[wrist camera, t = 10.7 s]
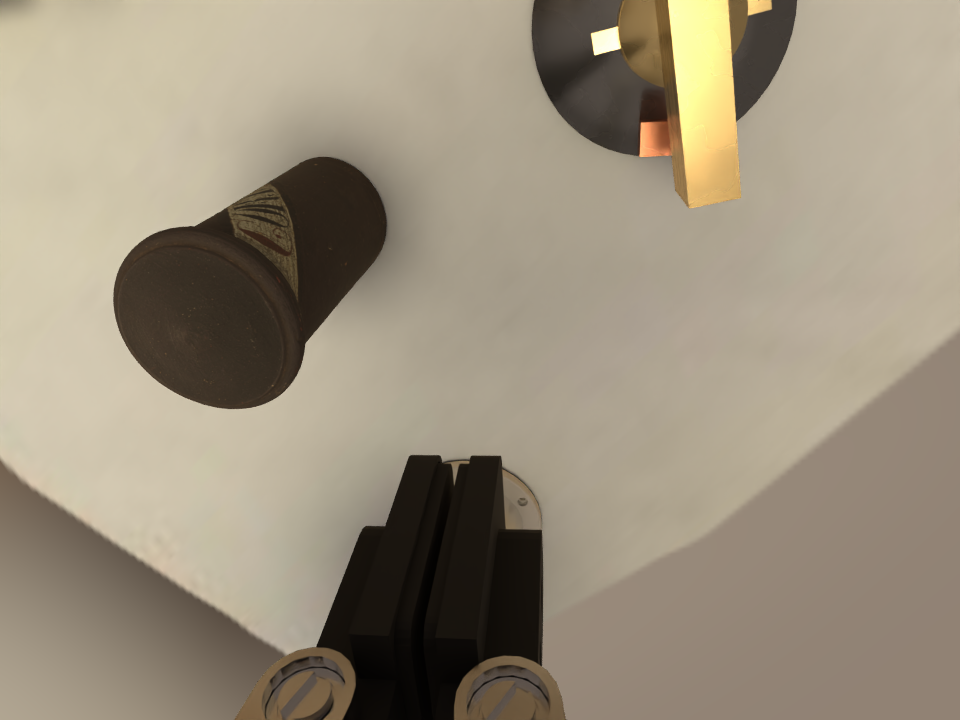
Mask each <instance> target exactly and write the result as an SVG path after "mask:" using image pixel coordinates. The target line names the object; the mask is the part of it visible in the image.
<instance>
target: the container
mask: <svg viewBox="0 0 960 720" xmlns="http://www.w3.org/2000/svg"><path fill="white" fill-rule="evenodd" d="M385 236H386V217H385V212H384V208H383V205H382V202H381V199H380V197H379V195H378V193H377V191H376V190H375V188H374V187H373V185H372V184H371V183H370V181H369V180H368V179H367V178H366V177H365V176H364V175H363V174H362V173H361V172H359V171H358V170H357V169H356V168H354V167H353V166H351V165H349V164H347V163H345V162H343V161H340V160H338V159H334V158H329V157H318V158H312V159H309V160H306V161H304V162H301V163H299V165H297V166H295V167H293V168H292V169H290V170H288V171H287V172H285V173H283V174H282V175H280V176H278V177H277V178H275V179H274V180H272V181H270V182H269V183H267V184H265V185H264V186H262V187H260V188H259V189H257V190H255V191H254V192H252V193H250V194H249V195H247V196H245V197H244V198H242V199H240V200H239V201H237V202H235V203H233V204H232V205H230V206H229V207H227V208H225V209H224V210H222V211H221V212H219V213H217V214H215V215H214V216H212V217H211V218H209V219H207V220H205V221H203V222H202V223H200V224H198V225H196V226H195V227H193V226H189V227H177V228H170V229H167V230H163V231H160V232H157V233H155V234H153V235H151V236H149V237H147V238H146V239H144V240H143V241H141V242H140V243H139V244H138V245H137V246H135V247H134V249H132V250H131V252H130V253H129V254H128V255H127V257H126V258H125V259H124V261H123V263H122V265H121V267H120V269H119V271H118V273H117V277H116V281H115V286H114V297H113V302H114V312H115V317H116V321H117V325H118V328H119V331H120V333H121V336H122V338H123V340H124V342H125V344H126V346H127V347H128V349H129V351H130V352H131V354H132V355H133V356H134V358H135V359H136V360H137V361H138V363H139V364H140V365H141V366H142V367H143V368H144V369H145V370H146V371H147V372H148V373H149V374H150V375H151V376H152V377H153V378H154V379H156V380H157V381H158V382H159V383H161V384H162V385H164V386H165V387H167V388H168V389H170V390H172V391H173V392H175V393H177V394H179V395H181V396H183V397H185V398H187V399H190V400H192V401H195V402H198V403H201V404H204V405H208V406H212V407H217V408H225V409H244V408H252V407H256V406H259V405H262V404H265V403H267V402H270V401H272V400H273V399H275V398H277V397H278V396H279V395H281V394H282V393H283V392H284V391H285V390H286V389H287V388H288V387H289V386H290V385H291V383H292V382H293V381H294V379H295V377H296V376H297V374H298V371H299V369H300V367H301V364H302V361H303V356H304V350H305V343H306V342H307V341H308V340H309V338H310V337H311V336H312V335H313V333H314V332H315V331H316V330H317V329H318V328H319V326H320V325H321V324H322V323H323V322H324V321H325V319H326V318H327V317H328V316H329V314H330V313H331V312H332V311H333V309H334V308H335V307H336V306H337V305H338V303H339V302H340V301H341V300H342V299H343V297H344V296H345V295H346V294H347V293H348V292H349V290H350V289H351V288H352V287H353V286H354V285H355V283H356V282H357V281H358V280H359V279H360V278H361V276H362V275H363V274H364V273H365V272H366V271H367V269H368V268H369V267H370V266H371V265H372V263H373V262H374V261H375V259H376V258H377V256H378V255H379V253H380V251H381V249H382V247H383V244H384V241H385Z"/></svg>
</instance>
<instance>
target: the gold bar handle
mask: <svg viewBox="0 0 960 720" xmlns="http://www.w3.org/2000/svg"><path fill="white" fill-rule="evenodd" d="M771 9H772V2H771V0H622V1H621V3H620V7H619V10H618V15H617V23H616V27H614V28H610V29H606V30H602V31H598V32H595V33H591V34H590V35H591V42H592V48H593V54H594V55H596V54H600V53H604V52H608V51H612V50H616V49H620V52H621V54H622V56H623V58H624V60H625V62H626V63H627V65H628V66H629V67H630V68H631V70H632V71H633V72H634V73H636V74H637V75H638V76H639V77H641V78H643V79H644V80H646V81H648V82H650V83H652V84H654V85H657V86H660V87H664V91H665V100H666V109H667V119H668V128H669V137H670V146H671V155H672V165H673V174H674V183H675V191H676V192H677V193H678V195H679V196H680V197H681V199H682V200H683V201H684V202H685V204H686V205H687V206H688V208H694V207H699V206H704V205H709V204H713V203H718V202H723V201H728V200H733V199H738V198H741V190H740V175H739V160H738V145H737V130H736V114H735V99H734V84H733V69H732V56H733V55H734V53H735V52H736V50H737V49H738V47H739V45H740V43H741V40H742V38H743V35H744V32H745V28H746V24H747V18H748V15H752V14H756V13H760V12H764V11H767V10H771Z"/></svg>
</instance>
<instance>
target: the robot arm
mask: <svg viewBox="0 0 960 720" xmlns="http://www.w3.org/2000/svg"><path fill="white" fill-rule="evenodd" d="M541 528H542V525H541V513H540V509H539V505H538V503H537V501H536V499H535V497H534V496H533V494H532V493H531V491H530V490H529V489H528V488H527V487H526V485H525V484H523V483H522V482H521V481H520V480H519V479H517V478H516V477H515V476H513V475H512V474H510V473H508V472H506V471H505V470H503V469H502V459H501V456H471V457H470V461H455V462H447V463H442V459H441V456H440V455H411V456H409V458H408V461H407V464H406V467H405V470H404V473H403V476H402V479H401V482H400V484H399V487H398V490H397V493H396V496H395V499H394V502H393V505H392V508H391V511H390V514H389V517H388V520H387V523H386V526H365V527H364V528H363V529H362V531H361V533H360V535H359V538H358V540H357V543H356V545H355V548H354V551H353V553H352V556H351V558H350V561H349V564H348V566H347V569H346V571H345V574H344V577H343V579H342V582H341V584H340V587H339V589H338V592H337V595H336V597H335V600H334V602H333V605H332V608H331V610H330V613H329V615H328V618H327V621H326V623H325V626H324V628H323V631H322V634H321V636H320V639H319V641H318V644H317V646H316V647H311V648H307V649H302V650H298V651H295V652H293V653H291V654H289V655H287V656H285V657H283V658H281V659H280V660H279V661H278V662H276V663H275V664H273V665H272V666H271V667H270V668H269V669H268V670H267V671H266V672H265V673H264V675H263V676H262V677H261V679H260V680H259V681H258V682H257V684H256V685H255V687H254V689H253V690H252V692H251V693H250V695H249V697H248V698H247V700H246V702H245V703H244V705H243V706H242V708H241V710H240V711H239V713H238V714H237V716H236V718H235V719H234V720H566V719H565V713H564V708H563V701H562V696H561V694H560V691H559V688H558V685H557V683H556V681H555V680H554V679H553V678H552V676H551V675H550V674H549V672H548V671H547V670H546V669H544V668H543V667H542V637H543V547H542V530H541Z"/></svg>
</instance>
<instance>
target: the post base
mask: <svg viewBox="0 0 960 720" xmlns="http://www.w3.org/2000/svg"><path fill="white" fill-rule="evenodd" d="M621 1H622V0H535V1H534V7H533V15H532V39H533V51H534V56H535V61H536V65H537V69H538V72H539V75H540V78H541V81H542V84H543V86H544V88H545V90H546V92H547V94H548V96H549V98H550V100H551V101H552V103H553V104H554V106H555V107H556V109H557V110H558V112H559V113H560V114H561V115H562V117H563V118H564V119H565V120H566V121H567V122H568V123H569V124H570V125H571V126H572V127H573V128H574V129H575V130H577V131H578V132H579V133H580V134H581V135H583V136H584V137H586V138H588V139H589V140H591V141H592V142H594V143H596V144H598V145H600V146H602V147H605V148H607V149H610V150H613V151H616V152H620V153H623V154H630V155H636V156H640V157H646V156H668V155H671V146H670V137H669V128H668V119H667V109H666V100H665V91H664V87H660V86H657V85H654V84H652V83H650V82H648V81H646V80H644V79H643V78H641V77H639V76H638V75H637V74H636V73H634V72H633V71H632V70H631V68H630V67H629V66H628V65H627V63H626V62H625V60H624V58H623V56H622V54H621V52H620V49H616V50H612V51H608V52H604V53H600V54H596V55H594V54H593V48H592V42H591V35H590V34H591V33H595V32H598V31H602V30H606V29H610V28H614V27H616V23H617V15H618V10H619V7H620V3H621ZM771 2H772V9H771V10H767V11H764V12H760V13H756V14H752V15H748V18H747V24H746V28H745V32H744V35H743V38H742V40H741V43H740V45H739V47H738V49H737V50H736V52H735V53H734V55H733V56H732V69H733V84H734V99H735V114H736V122H737V121H738V120H739V119H740V118H741V117H742V116H744V115H745V114H746V113H747V111H748V110H749V109H750V108H751V107H752V106H753V105H754V104H755V103H756V102H757V101H758V99H759V98H760V97H761V95H762V94H763V93H764V91H765V90H766V89H767V87H768V86H769V84H770V82H771V81H772V79H773V77H774V76H775V74H776V72H777V70H778V69H779V66H780V64H781V62H782V60H783V57H784V55H785V53H786V50H787V47H788V44H789V41H790V38H791V35H792V31H793V26H794V21H795V16H796V6H797V0H771Z"/></svg>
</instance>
